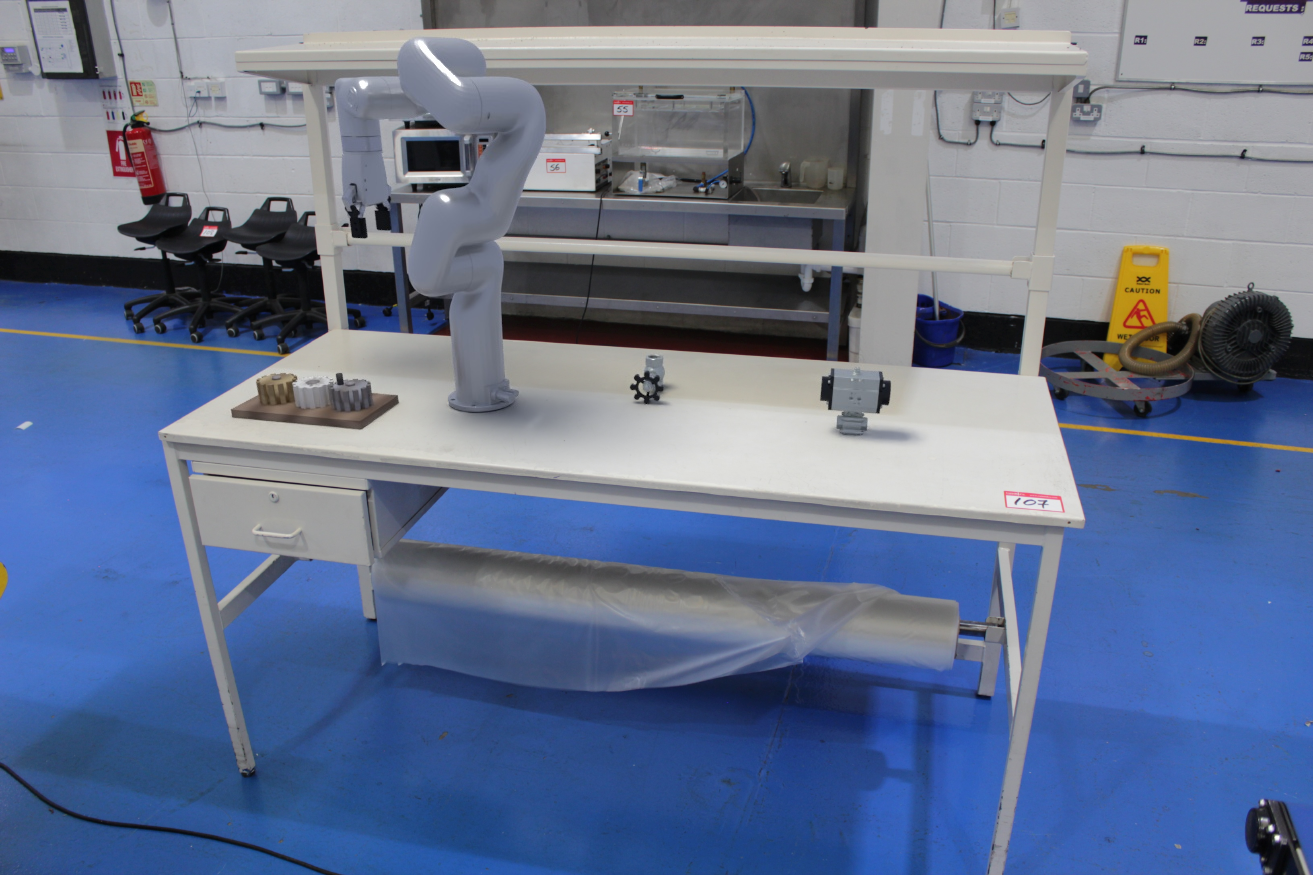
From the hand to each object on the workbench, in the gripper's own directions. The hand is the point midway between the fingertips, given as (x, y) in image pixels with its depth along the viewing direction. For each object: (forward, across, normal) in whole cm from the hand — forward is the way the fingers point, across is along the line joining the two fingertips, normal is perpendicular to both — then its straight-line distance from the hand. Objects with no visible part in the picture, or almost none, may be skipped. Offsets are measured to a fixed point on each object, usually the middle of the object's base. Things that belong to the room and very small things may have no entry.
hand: (372, 234), depth 178 cm
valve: (+29, +4, +59) cm, 66 cm away
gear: (+27, +27, 0) cm, 38 cm away
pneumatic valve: (+28, +16, +98) cm, 103 cm away
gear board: (+28, +27, 0) cm, 39 cm away
